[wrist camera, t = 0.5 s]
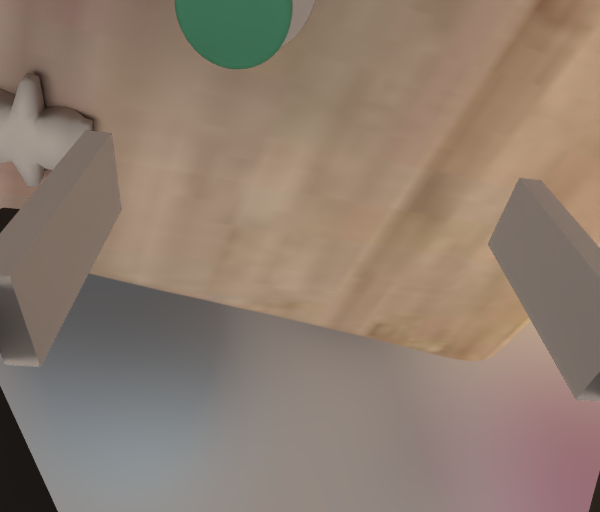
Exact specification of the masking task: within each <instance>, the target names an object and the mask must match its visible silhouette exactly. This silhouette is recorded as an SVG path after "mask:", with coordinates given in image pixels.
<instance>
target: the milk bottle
mask: <svg viewBox="0 0 600 512" xmlns="http://www.w3.org/2000/svg"><path fill="white" fill-rule="evenodd" d="M314 3H315V0H175V9H176V14H177V18H178V22H179V24H180V27H181V29H182V31H183V33H184V35H185V37H186V39H187V40H188V42H189V43H190V44H191V46H192V47H193V48H194V49H195V50H196V51H197V52H198V53H199V54H200V55H201V56H203V57H204V58H205V59H207V60H208V61H210V62H212V63H214V64H216V65H218V66H221V67H225V68H230V69H246V68H251V67H254V66H257V65H259V64H261V63H263V62H265V61H267V60H268V59H269V58H271V57H272V56H273V55H274V54H275V53H276V52H277V51H278V50H279V48H280V47H282V46H284V45H285V44H287V43H288V42H289V41H291V40H292V39H293V38H294V37H295V36H296V35H297V34H298V33H299V31H300V30H301V29H302V27H303V26H304V24H305V23H306V21H307V19H308V17H309V15H310V13H311V11H312V8H313V6H314Z"/></svg>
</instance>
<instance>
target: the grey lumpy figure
mask: <svg viewBox="0 0 600 512" xmlns="http://www.w3.org/2000/svg"><path fill="white" fill-rule="evenodd" d="M86 130H88V131H93V120H90V119H86V118H84V117H83V116H82V115H81V114H80V113H78V112H77V111H75V110H74V109H71V108H69V107H63V106H53V107H49V108H45V105H44V99H43V94H42V90H41V85H40V80H39V76H36V75H33V74H31V73H27V75H26V76H25V77H24V78H23V79H22V80H21V81H20V82H19V86H18V89H17V92H16V96H15V95H14V94H12V93H10V92H7V91H4V90H2V89H0V163H4V162H9V161H12V162H13V163H14V165H15V166H16V168H17V170H18V171H19V173H20V175H21V177H22V178H23V180H24V182H25V183H26V185H27V187H38V185H39V183H40V182H41V180H42V178H43V176H44V168H46V169H49V170H53V169H54V168H55V167H56V165H57V164H58V163H59V162H60V161H61V159H62V158H63V157H64V156H65V155H66V153H67V152H68V151H69V150H70V149H71V147H72V146H73V145H74V144H75V143H76V141H77V140H78V139H79V138H80V137H81V135H82V134H83V133H84V132H85V131H86Z"/></svg>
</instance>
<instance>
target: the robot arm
mask: <svg viewBox="0 0 600 512" xmlns="http://www.w3.org/2000/svg"><path fill="white" fill-rule="evenodd" d="M120 211H121V201H120V193H119V185H118V178H117V170H116V162H115V154H114V146H113V138H112V133H106V132H97V131H88V130H86V131H85V132H84V133H83V134H82V135H81V137H80V138H79V139H78V140H77V141H76V143H75V144H74V145H73V146H72V147H71V149H70V150H69V151H68V152H67V153H66V155H65V156H64V157H63V158H62V159H61V161H60V162H59V163H58V164H57V165H56V167H55V168H54V169H53V170H52V172H51V173H50V174H49V175H48V176H47V178H46V179H45V180H44V181H43V182H42V184H41V185H40V186H39V187H38V188H37V190H36V191H35V192H34V193H33V194H32V196H31V197H30V198H29V199H28V200H27V202H26V203H25V204H24V205H23V206H22V208H21V209H12V208H2V209H0V353H1V356H2V358H3V360H4V363H5V365H18V366H19V365H20V366H35V367H41V365H42V363H43V361H44V359H45V357H46V355H47V353H48V351H49V349H50V347H51V345H52V344H53V341H54V340H55V337H56V336H57V334H58V332H59V330H60V328H61V326H62V324H63V322H64V320H65V318H66V316H67V314H68V312H69V310H70V309H71V307H72V305H73V303H74V301H75V299H76V297H77V295H78V293H79V291H80V289H81V287H82V285H83V283H84V281H85V279H86V277H87V275H88V274H89V272H90V270H91V268H92V266H93V264H94V262H95V260H96V258H97V256H98V254H99V252H100V250H101V248H102V246H103V244H104V242H105V240H106V239H107V237H108V235H109V233H110V231H111V229H112V227H113V225H114V223H115V221H116V219H117V217H118V215H119V213H120ZM488 245H489V247H490V249H491V250H492V252H493V254H494V256H495V257H496V259H497V261H498V263H499V265H500V266H501V268H502V270H503V272H504V273H505V275H506V277H507V279H508V280H509V282H510V284H511V286H512V288H513V289H514V291H515V293H516V295H517V296H518V298H519V300H520V302H521V303H522V305H523V307H524V309H525V311H526V312H527V314H528V316H529V318H530V319H531V321H532V323H533V325H534V326H535V328H536V330H537V332H538V333H539V335H540V337H541V339H542V341H543V342H544V344H545V346H546V348H547V349H548V351H549V353H550V355H551V356H552V358H553V360H554V362H555V364H556V365H557V367H558V369H559V371H560V373H561V374H562V376H563V378H564V380H565V381H566V383H567V385H568V387H569V388H570V390H571V392H572V394H573V395H574V397H575V399H576V400H590V401H600V248H599V247H598V245H597V244H596V243H595V242H594V241H593V240H592V238H591V237H590V236H589V235H588V234H587V233H586V232H585V230H584V229H583V228H582V227H581V226H580V225H579V224H578V222H577V221H576V220H575V219H574V218H573V217H572V215H571V214H570V213H569V212H568V211H567V210H566V209H565V207H564V206H563V205H562V204H561V203H560V202H559V201H558V199H557V198H556V197H555V196H554V195H553V194H552V192H551V191H550V190H549V189H548V188H547V187H546V186H545V184H544V183H543V182H542V181H541V180H533V179H524V178H519V180H518V182H517V184H516V186H515V188H514V190H513V192H512V194H511V197H510V199H509V201H508V203H507V205H506V207H505V209H504V211H503V213H502V215H501V218H500V220H499V222H498V224H497V226H496V228H495V230H494V232H493V234H492V236H491V238H490V241H489V243H488ZM0 512H58V511H57V509H56V507H55V505H54V502H53V500H52V498H51V496H50V494H49V491H48V489H47V487H46V485H45V483H44V481H43V478H42V476H41V475H40V472H39V470H38V468H37V465H36V463H35V461H34V459H33V457H32V454H31V452H30V450H29V448H28V446H27V443H26V441H25V439H24V437H23V435H22V433H21V430H20V428H19V426H18V424H17V422H16V419H15V417H14V415H13V413H12V411H11V409H10V406H9V404H8V402H7V400H6V398H5V395H4V393H3V391H2V389H1V387H0ZM589 512H600V472H599V476H598V480H597V484H596V487H595V491H594V494H593V498H592V502H591V506H590V509H589Z"/></svg>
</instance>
